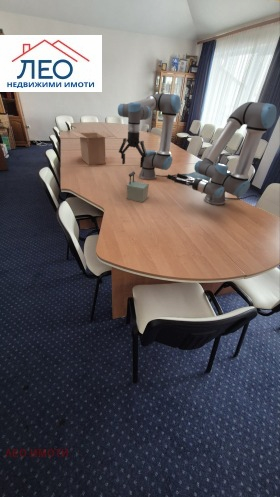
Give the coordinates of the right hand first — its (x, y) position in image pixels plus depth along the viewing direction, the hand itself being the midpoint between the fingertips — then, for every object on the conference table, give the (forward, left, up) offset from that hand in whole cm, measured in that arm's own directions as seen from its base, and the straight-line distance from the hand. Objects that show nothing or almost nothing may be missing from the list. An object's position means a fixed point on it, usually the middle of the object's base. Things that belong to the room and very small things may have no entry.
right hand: (172, 175), depth 154 cm
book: (-32, -46, -19) cm, 60 cm away
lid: (+24, -4, -10) cm, 26 cm away
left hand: (+28, -6, +4) cm, 29 cm away
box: (+67, -96, -19) cm, 118 cm away
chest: (+24, -4, -19) cm, 31 cm away
